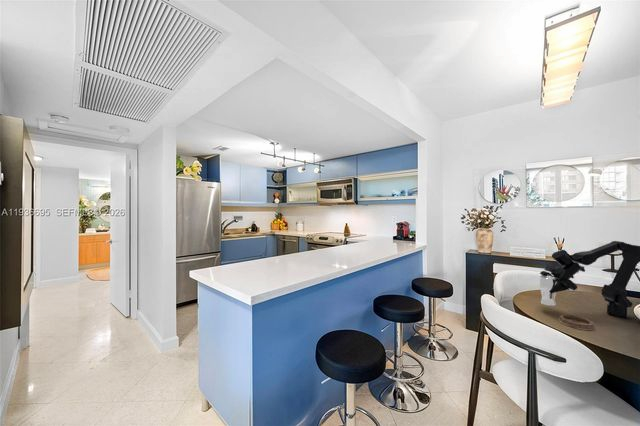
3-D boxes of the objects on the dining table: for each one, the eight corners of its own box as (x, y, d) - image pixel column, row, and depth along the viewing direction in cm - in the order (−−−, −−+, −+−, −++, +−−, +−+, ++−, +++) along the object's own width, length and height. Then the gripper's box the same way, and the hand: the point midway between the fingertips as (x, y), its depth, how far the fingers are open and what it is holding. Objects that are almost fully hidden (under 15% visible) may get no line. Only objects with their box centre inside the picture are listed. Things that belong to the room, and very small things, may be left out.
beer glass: (551, 307, 132) (551, 279, 132) (536, 302, 139) (536, 276, 139) (560, 305, 134) (560, 278, 134) (545, 301, 141) (545, 275, 140)
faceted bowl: (594, 324, 122) (594, 319, 122) (594, 333, 114) (595, 328, 114) (559, 316, 131) (559, 312, 131) (557, 324, 123) (557, 319, 123)
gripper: (543, 257, 145) (522, 275, 146) (570, 264, 126) (546, 285, 128) (558, 270, 144) (537, 288, 146) (588, 280, 125) (563, 300, 127)
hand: (545, 290), depth 137 cm, fingers closed on beer glass, 6 cm apart
